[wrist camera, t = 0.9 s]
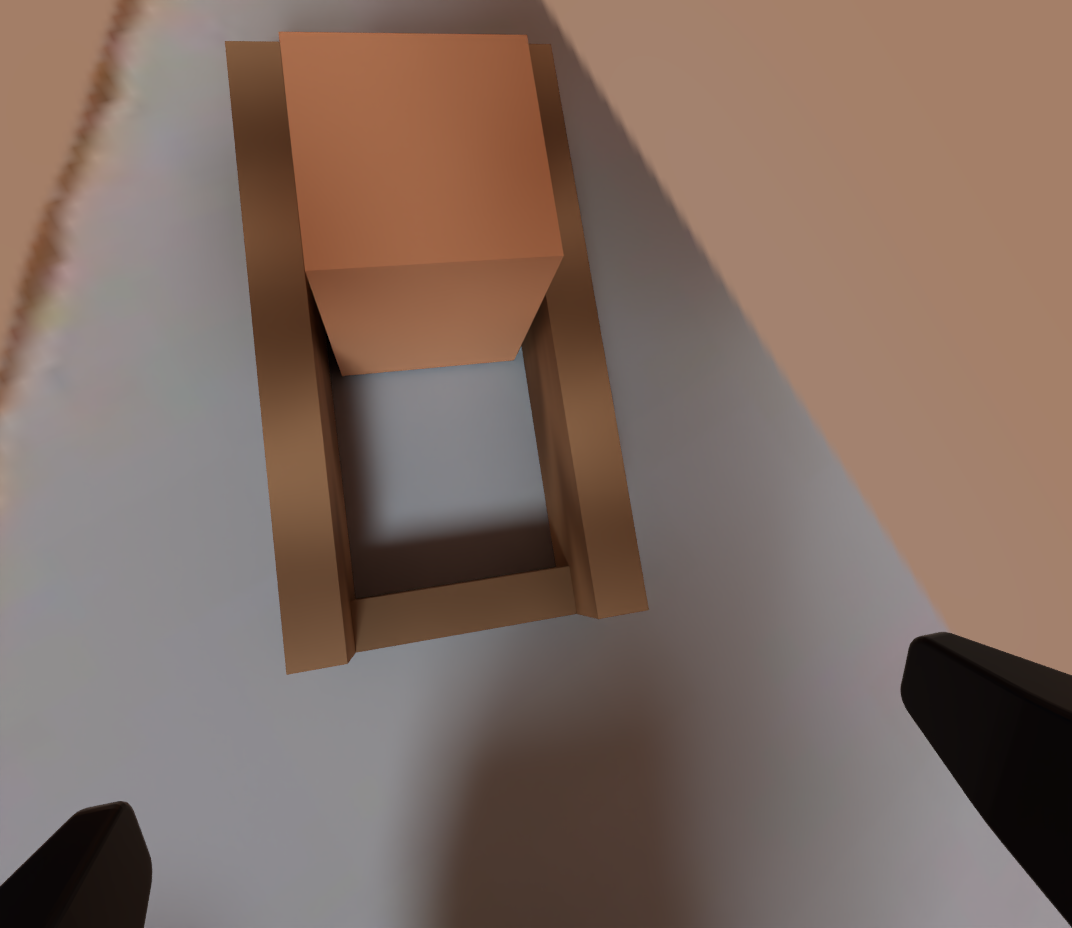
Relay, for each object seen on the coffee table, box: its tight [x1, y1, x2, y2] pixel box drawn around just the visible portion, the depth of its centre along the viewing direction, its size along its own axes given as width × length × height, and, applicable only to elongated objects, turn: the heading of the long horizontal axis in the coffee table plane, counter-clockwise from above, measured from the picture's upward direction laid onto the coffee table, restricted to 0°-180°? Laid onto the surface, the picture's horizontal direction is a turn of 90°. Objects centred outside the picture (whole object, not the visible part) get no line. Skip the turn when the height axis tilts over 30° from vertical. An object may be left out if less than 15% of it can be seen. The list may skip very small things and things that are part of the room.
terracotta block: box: [279, 32, 564, 376], centre depth 20 cm, size 6×6×8 cm
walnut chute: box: [225, 41, 649, 675], centre depth 21 cm, size 18×10×4 cm, turn 9°
